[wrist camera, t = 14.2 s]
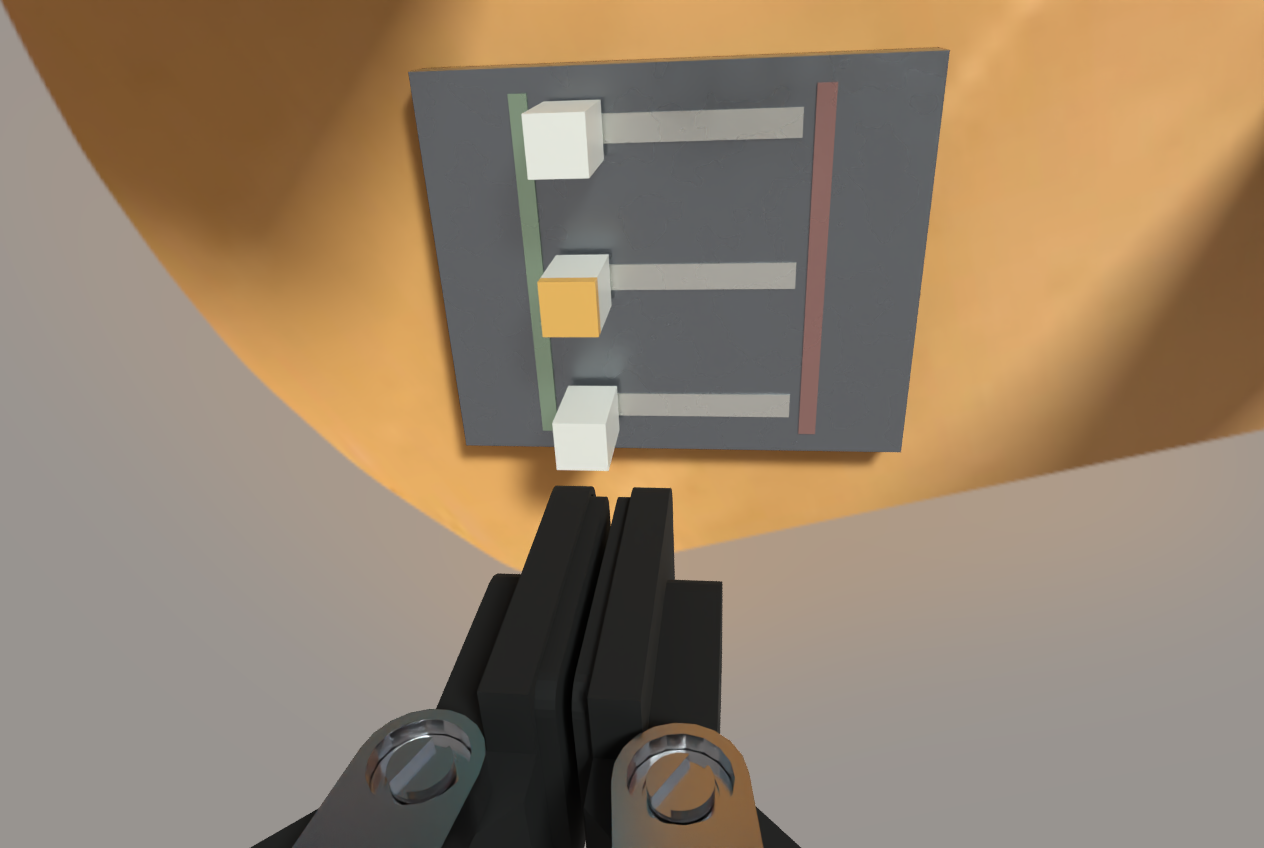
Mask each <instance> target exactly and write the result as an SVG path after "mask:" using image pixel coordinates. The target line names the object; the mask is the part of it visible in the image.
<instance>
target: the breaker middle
mask: <svg viewBox="0 0 1264 848" xmlns="http://www.w3.org/2000/svg"><path fill="white" fill-rule="evenodd" d="M537 285H538V295H539V305H540V315H541V325H542V335H543V337H599V336H600V333H601V331H602V328H603V326H604V323H605V321H606V318H607V316H608V313H609V311H610V308H611V306H612V305H611V287H610V270H609V254H600V255H556V256H555V257H554V259H553V260H552V262H551V263H550V265H549V266H548V267H547V269H546V270H545V272H544V273H543V275H542V276H541V278H540V279H539V281H538V282H537Z"/></svg>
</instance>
